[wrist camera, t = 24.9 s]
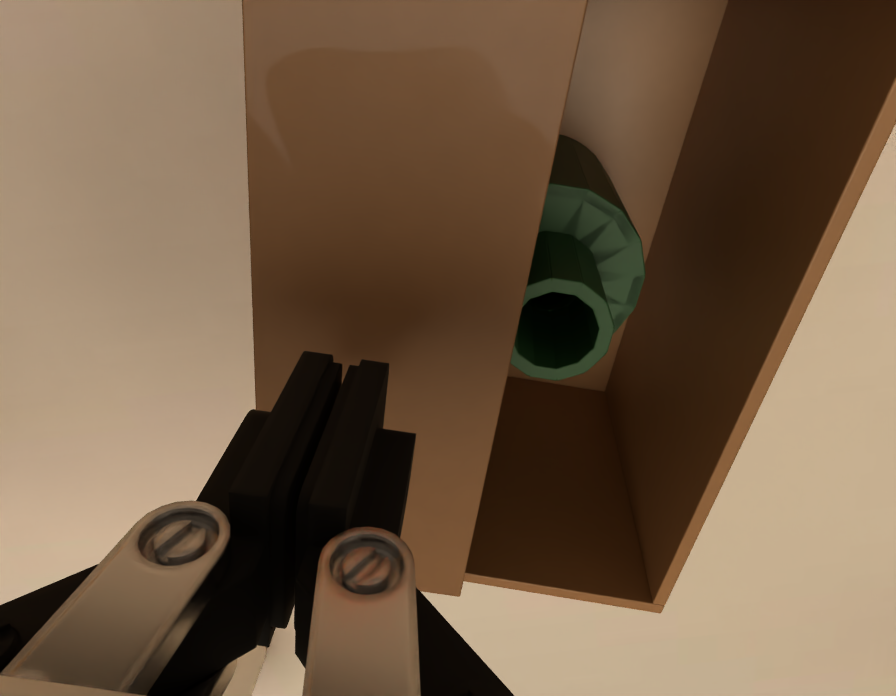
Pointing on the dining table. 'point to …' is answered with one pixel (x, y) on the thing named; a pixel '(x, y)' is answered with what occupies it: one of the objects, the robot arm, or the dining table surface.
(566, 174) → the bottle
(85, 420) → the dining table surface
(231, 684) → the potion bottle
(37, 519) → the dining table surface
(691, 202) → the shoebox
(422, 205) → the flap
